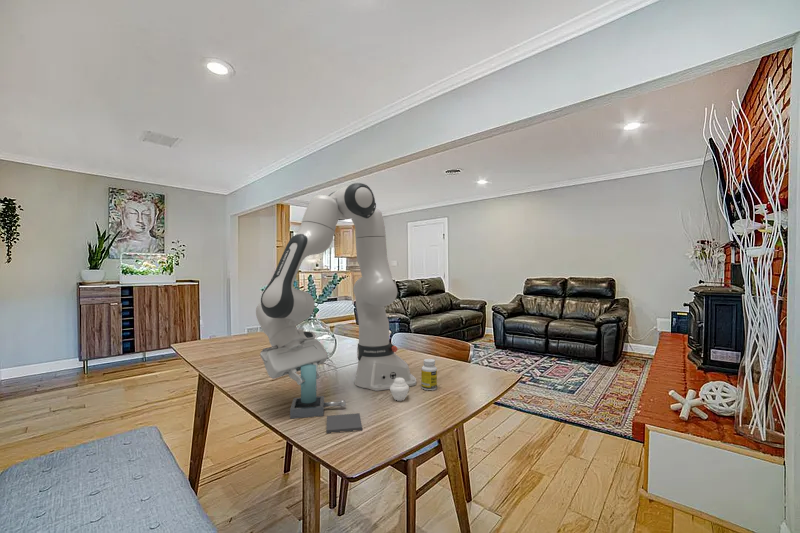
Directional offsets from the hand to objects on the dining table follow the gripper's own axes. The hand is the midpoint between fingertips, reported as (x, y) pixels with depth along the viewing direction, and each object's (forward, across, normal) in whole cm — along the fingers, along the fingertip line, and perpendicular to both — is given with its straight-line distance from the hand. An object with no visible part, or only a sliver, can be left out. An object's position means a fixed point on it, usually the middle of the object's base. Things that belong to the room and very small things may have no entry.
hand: (310, 380), depth 103 cm
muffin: (+18, +22, -5) cm, 29 cm away
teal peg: (+4, 0, +5) cm, 6 cm away
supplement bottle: (+20, +37, -7) cm, 42 cm away
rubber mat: (+16, -1, -4) cm, 17 cm away
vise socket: (+7, +2, +5) cm, 9 cm away
